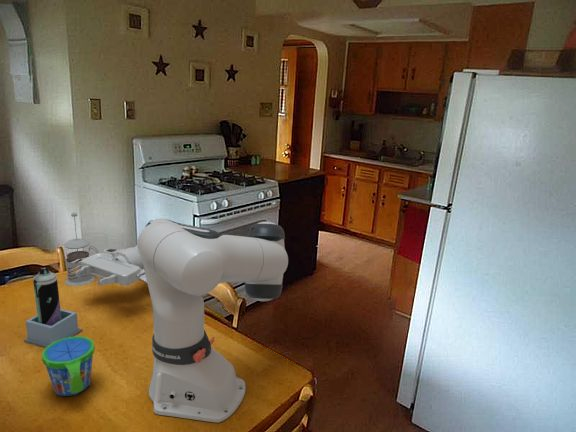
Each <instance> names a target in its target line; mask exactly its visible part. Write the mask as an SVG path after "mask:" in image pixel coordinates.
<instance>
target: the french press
mask: <svg viewBox="0 0 576 432" xmlns="http://www.w3.org/2000/svg"><path fill="white" fill-rule="evenodd" d="M71 217H73V219H74V221H76V217H78V212H77V213H76V212H72V213H71ZM76 225H77V224H76V223H74V230H75V232H77V226H76ZM89 245H90V241H89V240H87V239H85V238H78V236H77V234H75V238H72V239H70V240H68V241H66V242H65V243H64V244H63V247H64V248H65V249H68V250H75V251H71V252H68V253H67V254H66V259H65V263H66V271H67V272H66V273H67V278H66V279H65V280H64V283H65V285H66V286H72V287H79V286H86V285H88V284H92V282H95V280H96V276H95V275H92V274H89V273H88V274H86V273H85V274H84V277H81V278H79V277H76V271H79V270H81V261H82V260H83V259H84V258H87V257H89V256H90V251H91V250H93V251H94V252H95V254H97V253H100V251H98V249H97V248H96V247H94V246H92V245H90V246H89ZM88 246H89V248H88V251H85V250H79V249H85V248H86V247H88ZM85 284H86V285H85Z"/></svg>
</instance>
